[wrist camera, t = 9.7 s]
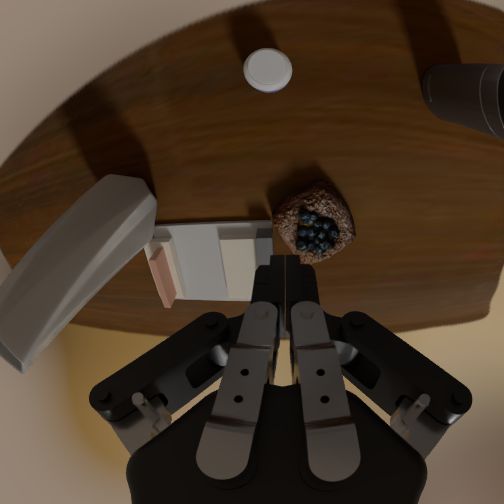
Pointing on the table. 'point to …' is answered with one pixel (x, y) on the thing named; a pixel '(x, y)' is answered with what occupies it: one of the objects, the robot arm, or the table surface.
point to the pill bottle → (267, 70)
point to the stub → (165, 269)
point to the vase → (72, 264)
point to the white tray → (219, 256)
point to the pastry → (314, 222)
